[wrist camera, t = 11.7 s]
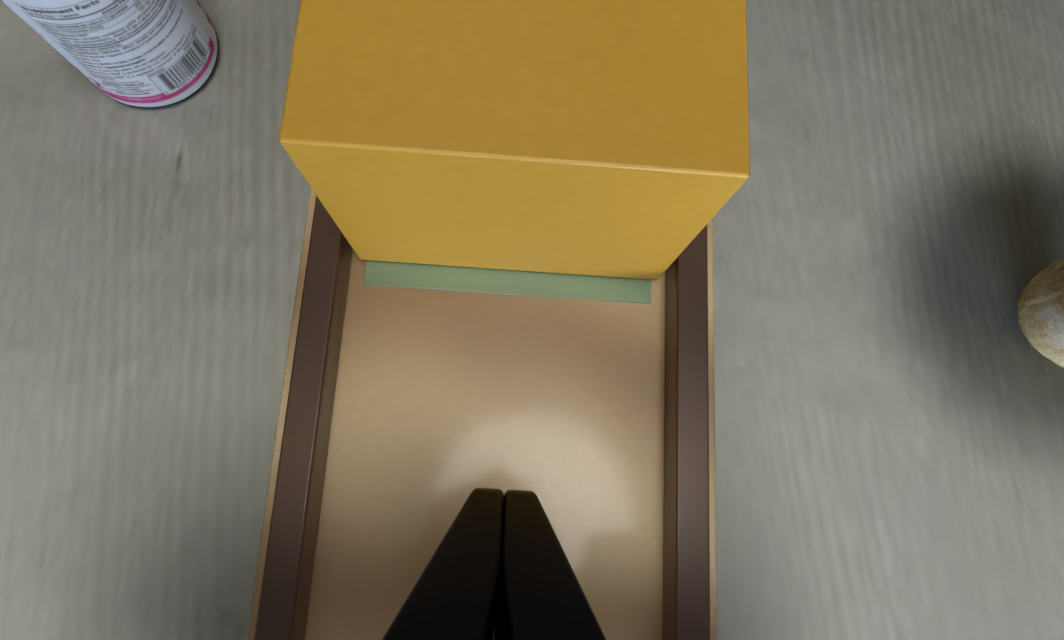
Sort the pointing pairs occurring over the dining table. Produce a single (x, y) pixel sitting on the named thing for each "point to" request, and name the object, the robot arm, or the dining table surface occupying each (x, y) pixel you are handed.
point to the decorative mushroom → (1044, 312)
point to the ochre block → (521, 128)
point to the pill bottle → (129, 44)
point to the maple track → (490, 435)
